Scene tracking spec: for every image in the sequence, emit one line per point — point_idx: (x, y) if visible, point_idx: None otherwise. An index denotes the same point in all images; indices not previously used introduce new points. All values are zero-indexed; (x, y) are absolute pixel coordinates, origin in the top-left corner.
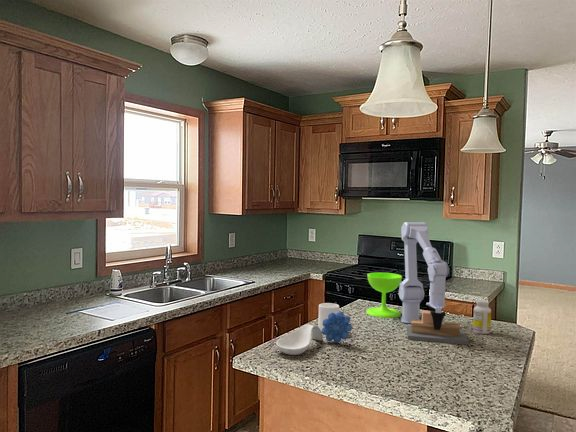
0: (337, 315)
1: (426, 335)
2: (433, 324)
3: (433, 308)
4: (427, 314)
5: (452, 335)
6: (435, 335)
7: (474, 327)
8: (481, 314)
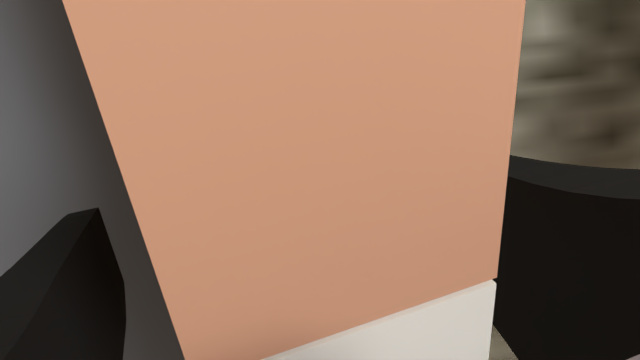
0: None
1: (7, 51)
2: (61, 241)
3: (636, 309)
4: (139, 187)
5: None
6: (102, 180)
7: None
8: None
